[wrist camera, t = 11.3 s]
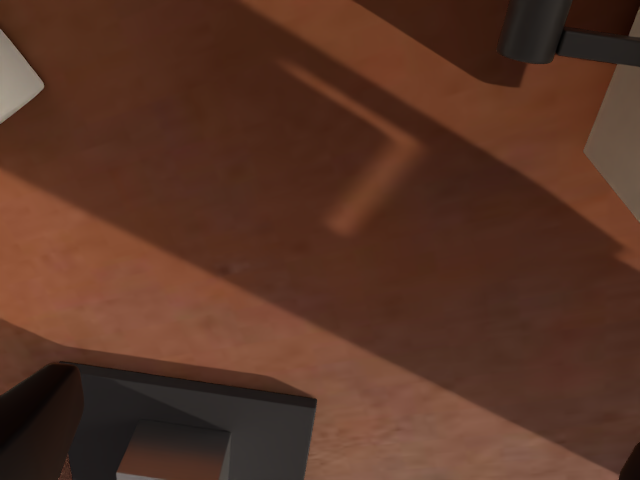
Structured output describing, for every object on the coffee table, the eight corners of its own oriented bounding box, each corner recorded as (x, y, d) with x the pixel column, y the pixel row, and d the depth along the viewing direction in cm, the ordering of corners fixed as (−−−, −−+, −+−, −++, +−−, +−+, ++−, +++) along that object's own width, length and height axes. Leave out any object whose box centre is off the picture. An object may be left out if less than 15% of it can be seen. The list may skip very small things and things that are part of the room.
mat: (292, 545, 33) (290, 555, 32) (84, 514, 33) (79, 524, 32) (317, 398, 27) (316, 408, 26) (59, 360, 27) (53, 370, 26)
